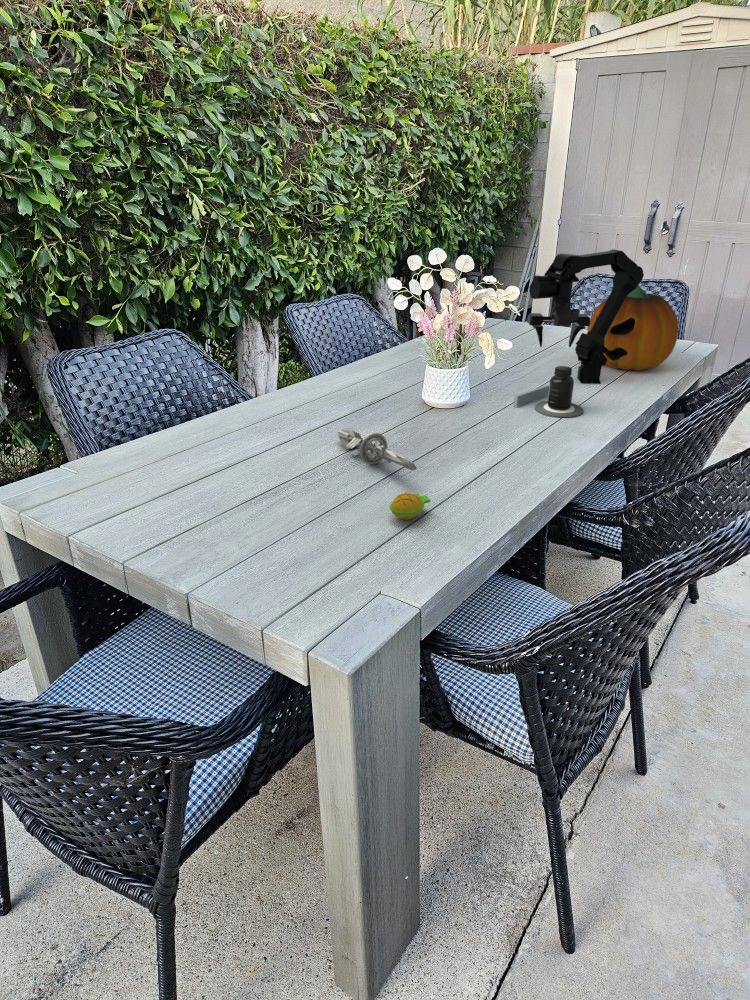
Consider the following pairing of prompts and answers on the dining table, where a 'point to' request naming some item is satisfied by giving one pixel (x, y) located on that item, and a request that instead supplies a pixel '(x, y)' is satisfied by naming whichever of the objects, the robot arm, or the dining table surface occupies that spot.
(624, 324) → the decorative pumpkin
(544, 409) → the mat
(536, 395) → the acrylic wall
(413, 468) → the spaceship
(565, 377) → the supplement bottle
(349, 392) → the dining table surface
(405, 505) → the orange green rounded piece
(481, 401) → the dining table surface
